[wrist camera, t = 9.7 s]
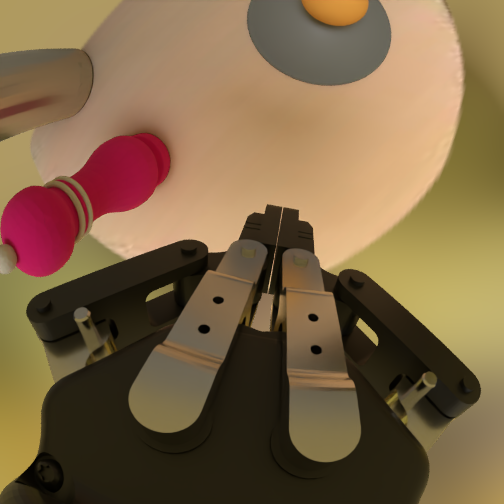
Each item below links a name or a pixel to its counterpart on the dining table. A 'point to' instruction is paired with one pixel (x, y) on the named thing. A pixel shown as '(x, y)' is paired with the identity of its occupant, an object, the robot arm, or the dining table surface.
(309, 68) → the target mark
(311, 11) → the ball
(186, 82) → the dining table surface
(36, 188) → the pepper mill
